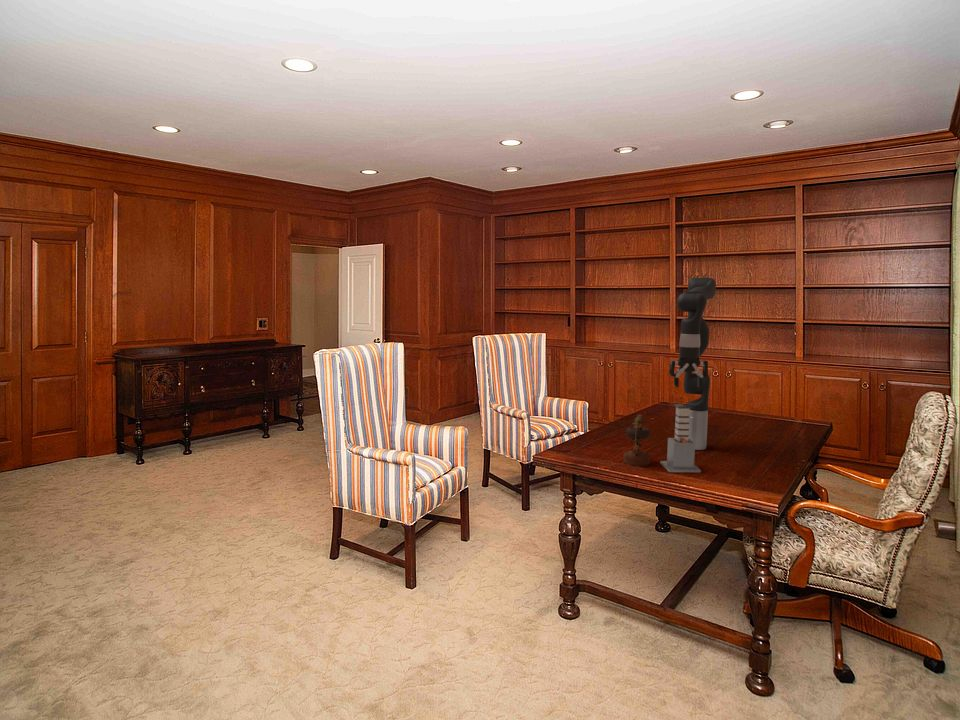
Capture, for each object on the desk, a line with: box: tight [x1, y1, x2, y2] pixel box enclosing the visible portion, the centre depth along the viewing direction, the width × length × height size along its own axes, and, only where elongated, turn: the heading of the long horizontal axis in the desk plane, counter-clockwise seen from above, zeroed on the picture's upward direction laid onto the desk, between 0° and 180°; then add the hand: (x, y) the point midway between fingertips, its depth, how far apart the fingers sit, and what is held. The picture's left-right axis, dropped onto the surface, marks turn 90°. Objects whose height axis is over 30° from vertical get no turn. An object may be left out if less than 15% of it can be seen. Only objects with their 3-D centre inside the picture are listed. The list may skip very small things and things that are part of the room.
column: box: [673, 403, 692, 442], centre depth 232 cm, size 5×5×19 cm
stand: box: [660, 437, 702, 474], centre depth 233 cm, size 12×12×12 cm
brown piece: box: [623, 414, 651, 467], centre depth 241 cm, size 15×11×20 cm
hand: (687, 387), depth 231 cm, fingers open, 8 cm apart
